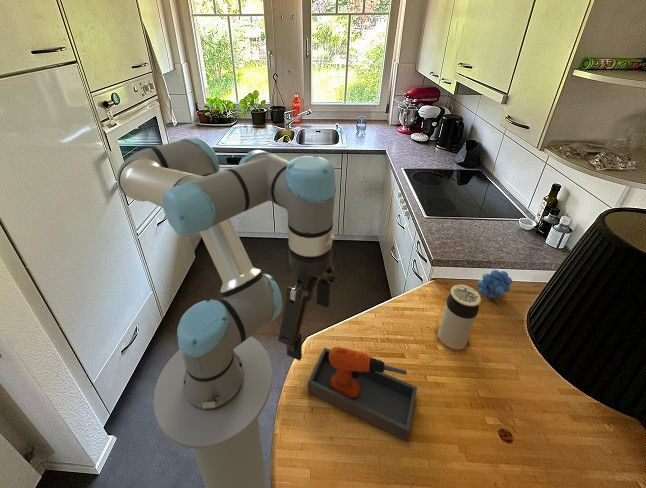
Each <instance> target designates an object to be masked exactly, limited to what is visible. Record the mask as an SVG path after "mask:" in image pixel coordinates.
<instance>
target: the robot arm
mask: <svg viewBox="0 0 646 488" xmlns="http://www.w3.org/2000/svg"><path fill="white" fill-rule="evenodd" d="M218 158H219V157H218V156H217V153H216V152H215V151H214V149H213V147H212V146H211V145H210V144H209V142H207V141H206V140H205V139H202V138H201V137H197V136H196V137H190V138H182V139H180V140H177V141H173V142H168V143H164V144H160V145H157V146H156V145H155V146H153V147H148V148H144V149H141V150H138V151H137V152H135V153H133V154H131V155H130V156H128V158H126V159H125V160H124V161H123V162H122V163H121V165H119V166H120V167H119V168H118V170H117V174H116V181H117V185H118V188H119V190H120V191H121V192H122V193H123V194H124V195H125V196H126V197H127V198H129V199H132V200H134V201H137V202H149V203H151V204H154V205H155V206H158V207H160V208H162V210H163V212H164V215H165V218H166V220H167V222H168V224H169V225H170V227H171V228H173V230H174V232H175V233H176V234H177V235H179V236H181V237H188V236H191V235H194V234H196V233H199V234H200V236H201V238H202V240H203V242H204V244H205V247H206V249H207V251H208V253H209V256H210V257H211V259H212V262H213V265H214V266H215V268H216V270H217V273H218V275H219V278H220V279H221V281H222V284H221V288H220V293H221V296H222V299H220V300H216V299H210V300H206V299H205V300H202V301H199V302H197V303H195V304H194V305H192V306H191V307H189V308H188V309H187V310H186V311H185V312H184V314H183V315H182V316H181V318H180V320H179V323H178V325H177V332H176V334H177V335H176V336H177V343H178V345H177V346H178V348H179V350H181V352H182V356H183V359H184V363H185V366H186V371H185V376H184V381H183V388H184V392H185V396H186V398H187V400H188V402H189V403H190V404H191V405H192V406H194V407H195V408H197V409H200V410H215V409H218V408H221V407H223V406H225V405H226V404H228V403H229V402H230V401H231V400H233V399H234V398H235V396H236V395H237V394H238V392H239V391H240V389H241V387H242V384H243V381H244V367H243V363H242V360H241V359H240V357H239V356H238V355H237V353H236V352H235V351H234V350H233V349H234V348H236V347H237V346H238V345H240V344H241V343H242V342H244V341H245V340H247V339H248V338H249V337H253V336H254V335H255V334H256V333H258V332H259V331H260V330H262V329H263V328H264V327H266V326H268V325H270V324H271V323H272V322H273V321H274V320H275V319H276V318H277V317H279V316H280V314H281V312H282V309H283V313H282V319H281V323H280V329H279V334H278V342H280V343H282V344H283V345H286V355H287V356H288V357H290V358H292V359H294V360H297V361H299V362H301V359H302V358H303V353H302V352H303V350H302V349H303V346H302V345H303V343H302V341H303V339H302V334H301V329H302V326H303V323H304V319H305V315H306V311H307V309H308V304H309V302H311V301H312V300H313V296H314V292H315V289H316V305H319V306H321V307H324V308H327V309H329V308H330V300H331V299H330V298H331V283H332V284H334V283H335V282H336V277H335V276H332V275H334V274H335V272H336V268H335V265H334V262H333V247H332V246H333V242H334V241H335V239H336V236H335V235H334V234H333V232H334V231H333V230H334V209H335V198H336V191H337V186H336V171H335V166H334V164H332V162H331V161H330V160H328V159H327V158H323V157H321V156H313V155H303V156H298V157H295V158H293V159H292V160H287V159H285V158H284V157H283V158H282V157H280V156H278V155H276V154H275V153H273V152H268V151H265V150H260V149H255V150H250V151H248V152H247V153H246V154H245V155H244V156H243V157H242V158H241V159H240V161H239V163H238V165H235V166H232V167H230V168H226V169H224V170H221V171H220V163H219V159H218ZM267 202H271V203H274V204H275V205H277V206H279V207H281V208H283V209H285V210H286V212H287V234H288V235H287V236H288V237H287V238H288V239H287V240H288V241H287V242H288V243H287V244H288V263H289V266H290V267H291V269H292V270H293V272H294V273H295V274H296V275H295V277H294V280H295V283H294V286H293V287H292V286H288V287H287V289H286V290H285V291H286V292H285V293H286V294H285V303H284V308H283V297H282V293H281V289H280V288H279V285H278V283H277V282H276V281H275V280H274V277H273V276H272V275H270V274H267V273H263V272H262V270H261V269H260V268H257V267H254V266H253V264H252V261H251V259H250V258H249V256H248V253H247V252H246V249H245V247H244V245H243V242H242V241H241V238H240V236H239V234H238V232H237V230H236V227H235V226H234V223H233V222H232V219H231V218H234V217H236V216H239V215H240V214H242V213H244V212H247V211H249V210H251V209H253V208H255V207H259V206H261V205H263V204H265V203H267ZM304 292H305V293H308V294H304Z"/></svg>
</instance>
